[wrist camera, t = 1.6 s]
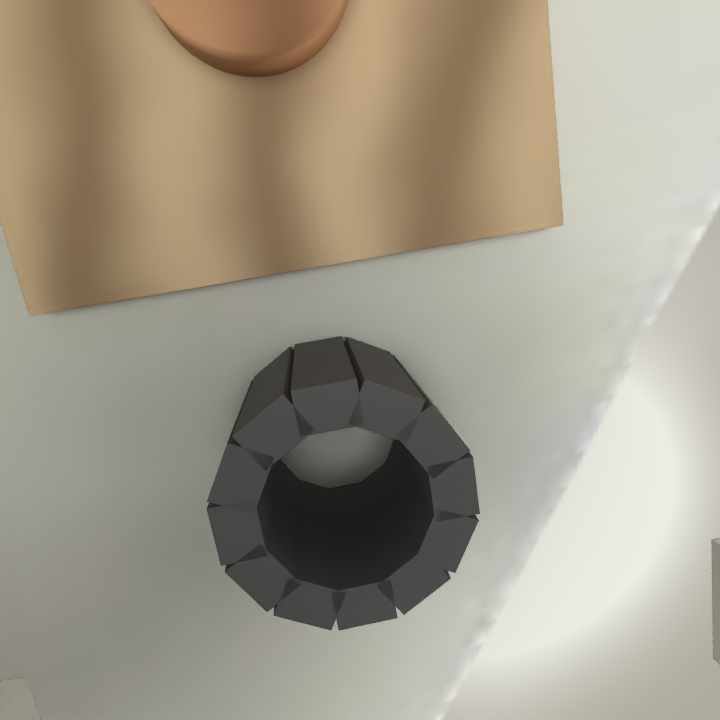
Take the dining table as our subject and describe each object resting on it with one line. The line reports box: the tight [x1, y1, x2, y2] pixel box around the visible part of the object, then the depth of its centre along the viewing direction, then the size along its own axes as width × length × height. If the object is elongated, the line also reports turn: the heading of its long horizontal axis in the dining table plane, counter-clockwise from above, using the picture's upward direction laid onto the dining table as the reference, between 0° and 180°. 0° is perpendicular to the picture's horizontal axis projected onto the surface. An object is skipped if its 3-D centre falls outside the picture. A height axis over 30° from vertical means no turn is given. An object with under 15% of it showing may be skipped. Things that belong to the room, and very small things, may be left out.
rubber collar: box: [207, 336, 480, 630], centre depth 19 cm, size 8×8×7 cm
